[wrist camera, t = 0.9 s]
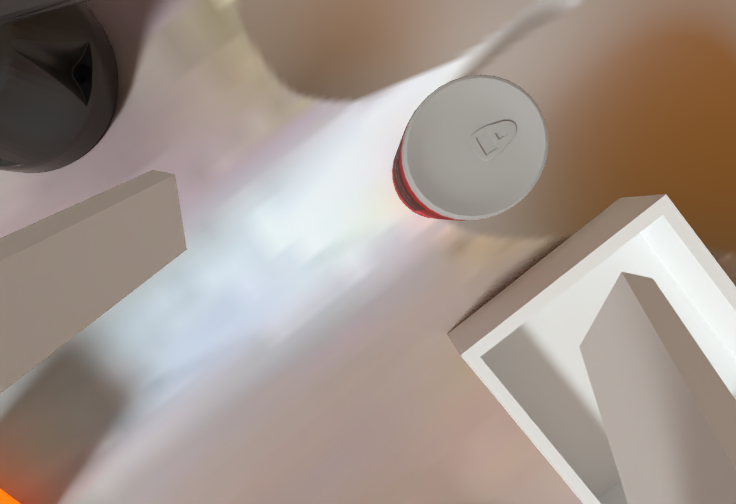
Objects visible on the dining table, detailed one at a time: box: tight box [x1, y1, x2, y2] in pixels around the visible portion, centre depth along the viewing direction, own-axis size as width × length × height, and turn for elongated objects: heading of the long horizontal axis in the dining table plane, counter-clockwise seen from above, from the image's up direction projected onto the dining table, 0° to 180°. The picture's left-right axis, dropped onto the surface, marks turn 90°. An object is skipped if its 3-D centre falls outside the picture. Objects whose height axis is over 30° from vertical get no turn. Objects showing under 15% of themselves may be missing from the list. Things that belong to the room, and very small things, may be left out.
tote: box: [447, 194, 736, 504], centre depth 30 cm, size 20×18×5 cm
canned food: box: [392, 75, 548, 221], centre depth 26 cm, size 8×8×11 cm
